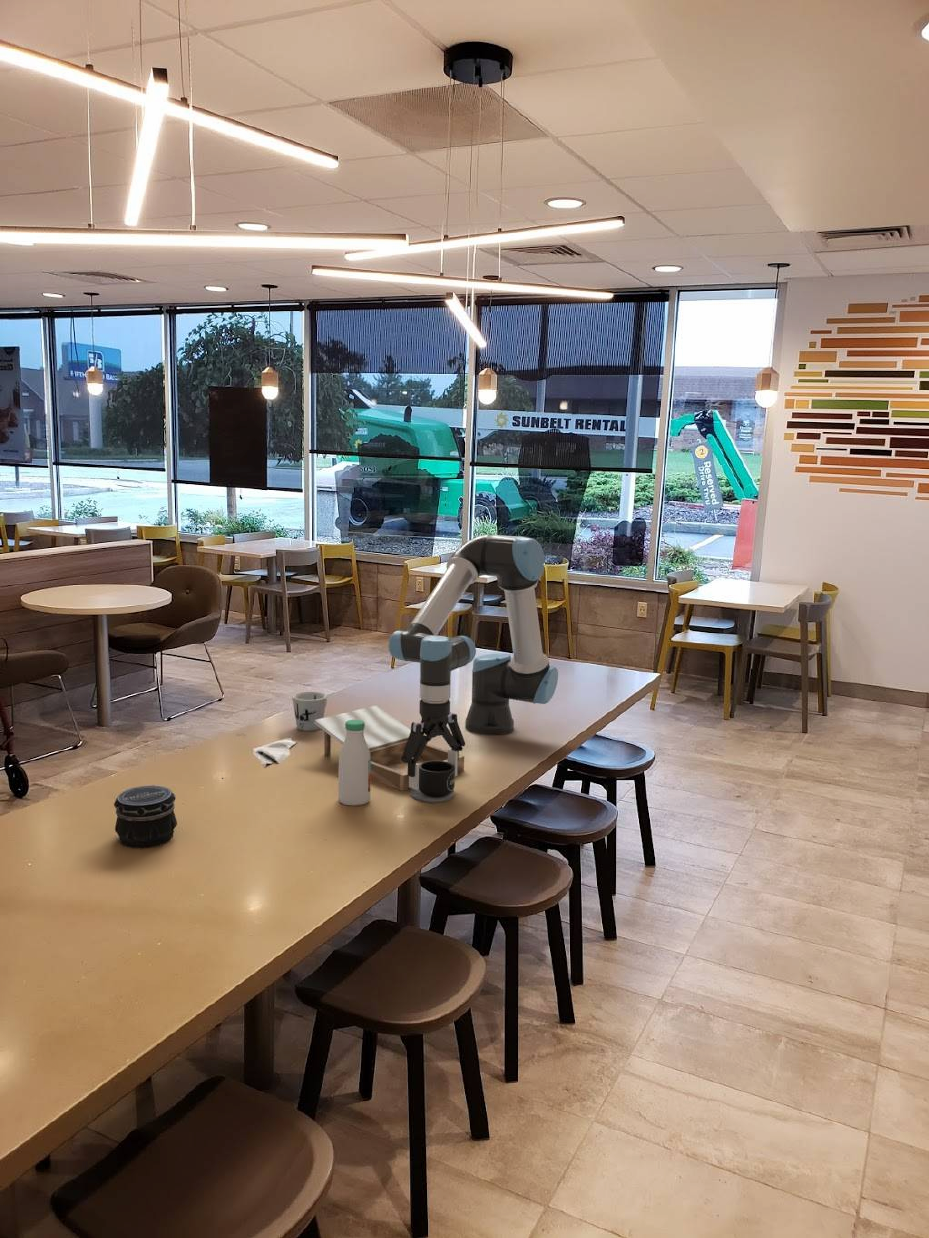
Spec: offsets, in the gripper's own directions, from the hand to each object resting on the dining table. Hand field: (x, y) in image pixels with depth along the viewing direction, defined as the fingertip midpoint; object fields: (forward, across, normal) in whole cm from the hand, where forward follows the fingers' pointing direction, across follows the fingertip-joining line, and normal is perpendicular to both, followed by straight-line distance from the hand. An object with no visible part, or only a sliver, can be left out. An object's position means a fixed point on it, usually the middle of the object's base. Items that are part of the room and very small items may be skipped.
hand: (433, 781), depth 232 cm
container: (+3, +64, -24) cm, 69 cm away
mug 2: (+3, +1, 0) cm, 3 cm away
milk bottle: (+3, +17, -10) cm, 20 cm away
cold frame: (+3, -7, -25) cm, 26 cm away
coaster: (+3, 0, 0) cm, 3 cm away
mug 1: (+4, -14, -66) cm, 67 cm away
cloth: (+4, +10, -53) cm, 54 cm away
